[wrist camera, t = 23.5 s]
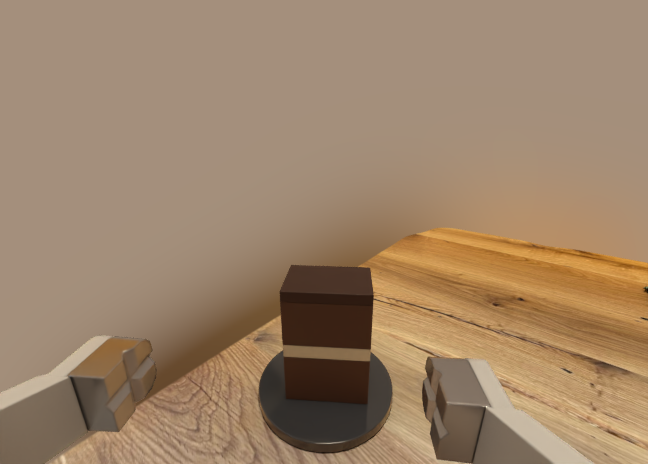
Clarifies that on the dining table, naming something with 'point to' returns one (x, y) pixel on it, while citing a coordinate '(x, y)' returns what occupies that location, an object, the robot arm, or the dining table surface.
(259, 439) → the dining table surface
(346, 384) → the cake slice
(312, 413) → the plate
